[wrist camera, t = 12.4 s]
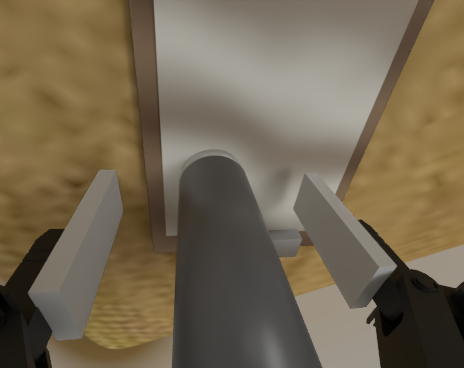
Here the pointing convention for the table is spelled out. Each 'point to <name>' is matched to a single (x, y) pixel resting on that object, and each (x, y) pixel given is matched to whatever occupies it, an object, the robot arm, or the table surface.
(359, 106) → the clipboard
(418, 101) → the table surface
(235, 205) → the marker
